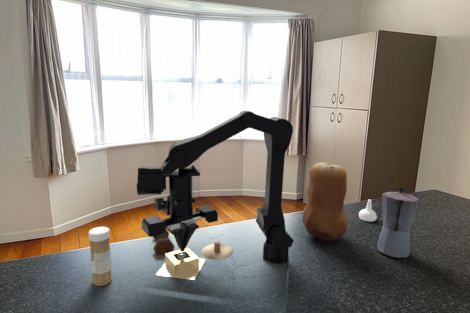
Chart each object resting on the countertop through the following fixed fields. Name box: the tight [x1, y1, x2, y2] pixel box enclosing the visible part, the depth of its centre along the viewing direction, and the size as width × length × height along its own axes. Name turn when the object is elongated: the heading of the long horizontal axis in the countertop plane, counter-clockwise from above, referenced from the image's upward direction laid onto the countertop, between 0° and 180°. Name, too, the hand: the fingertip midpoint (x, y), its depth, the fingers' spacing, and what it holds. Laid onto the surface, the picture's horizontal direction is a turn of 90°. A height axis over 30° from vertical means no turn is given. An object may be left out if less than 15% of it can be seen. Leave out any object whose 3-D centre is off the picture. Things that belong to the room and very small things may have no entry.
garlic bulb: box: [358, 199, 378, 223], centre depth 117 cm, size 6×6×8 cm
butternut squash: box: [302, 161, 348, 243], centre depth 98 cm, size 14×13×25 cm
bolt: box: [152, 228, 175, 256], centre depth 94 cm, size 6×5×15 cm
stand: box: [201, 241, 234, 260], centre depth 89 cm, size 9×9×4 cm
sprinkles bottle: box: [88, 226, 113, 287], centre depth 74 cm, size 5×5×13 cm
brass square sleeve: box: [164, 247, 200, 276], centre depth 80 cm, size 7×7×3 cm
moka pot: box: [376, 186, 420, 259], centre depth 90 cm, size 10×15×20 cm, turn 155°
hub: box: [155, 252, 206, 281], centre depth 80 cm, size 10×10×4 cm
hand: (181, 250), depth 80 cm, fingers closed
